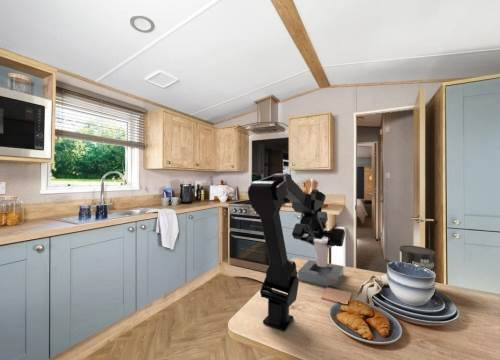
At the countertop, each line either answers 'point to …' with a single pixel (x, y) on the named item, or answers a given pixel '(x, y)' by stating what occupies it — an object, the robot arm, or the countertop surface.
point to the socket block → (321, 274)
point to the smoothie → (321, 251)
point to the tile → (336, 295)
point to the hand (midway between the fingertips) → (322, 246)
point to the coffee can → (418, 256)
